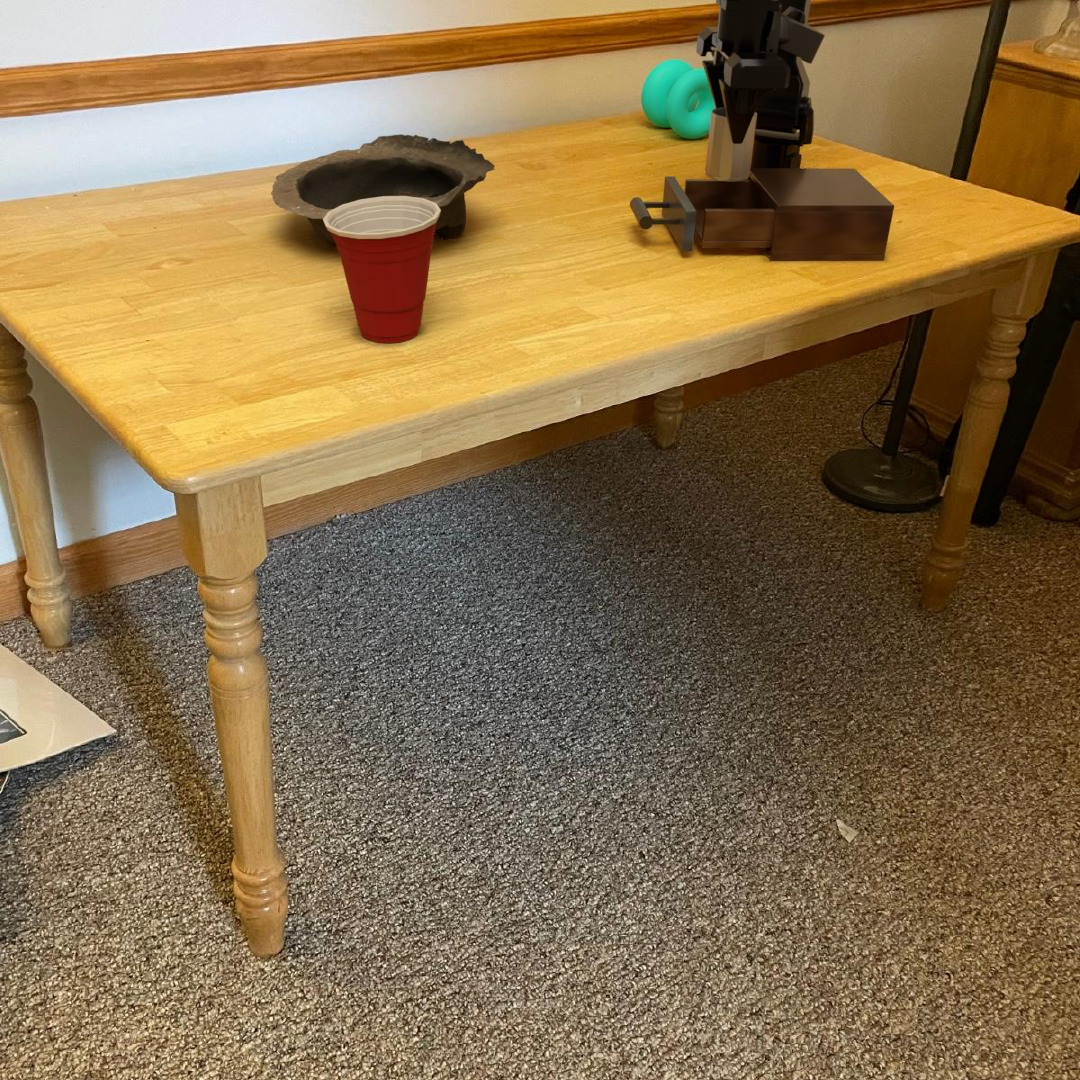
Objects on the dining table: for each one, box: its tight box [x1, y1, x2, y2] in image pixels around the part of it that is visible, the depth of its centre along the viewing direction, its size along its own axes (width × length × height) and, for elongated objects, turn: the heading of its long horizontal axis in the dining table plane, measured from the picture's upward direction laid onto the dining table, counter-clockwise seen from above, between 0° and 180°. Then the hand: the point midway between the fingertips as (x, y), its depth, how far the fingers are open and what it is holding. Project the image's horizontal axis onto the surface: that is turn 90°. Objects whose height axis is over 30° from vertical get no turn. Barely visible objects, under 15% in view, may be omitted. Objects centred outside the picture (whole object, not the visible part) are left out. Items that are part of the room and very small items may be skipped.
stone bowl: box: [270, 134, 496, 246], centre depth 136 cm, size 25×25×9 cm
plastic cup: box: [323, 196, 441, 344], centre depth 112 cm, size 11×11×12 cm
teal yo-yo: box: [640, 58, 716, 140], centre depth 178 cm, size 10×10×10 cm
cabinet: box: [748, 167, 895, 262], centre depth 139 cm, size 13×14×6 cm
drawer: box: [629, 175, 776, 253], centre depth 138 cm, size 17×13×5 cm
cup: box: [704, 107, 757, 182], centre depth 134 cm, size 5×5×7 cm
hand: (731, 137), depth 134 cm, fingers closed on cup, 5 cm apart
